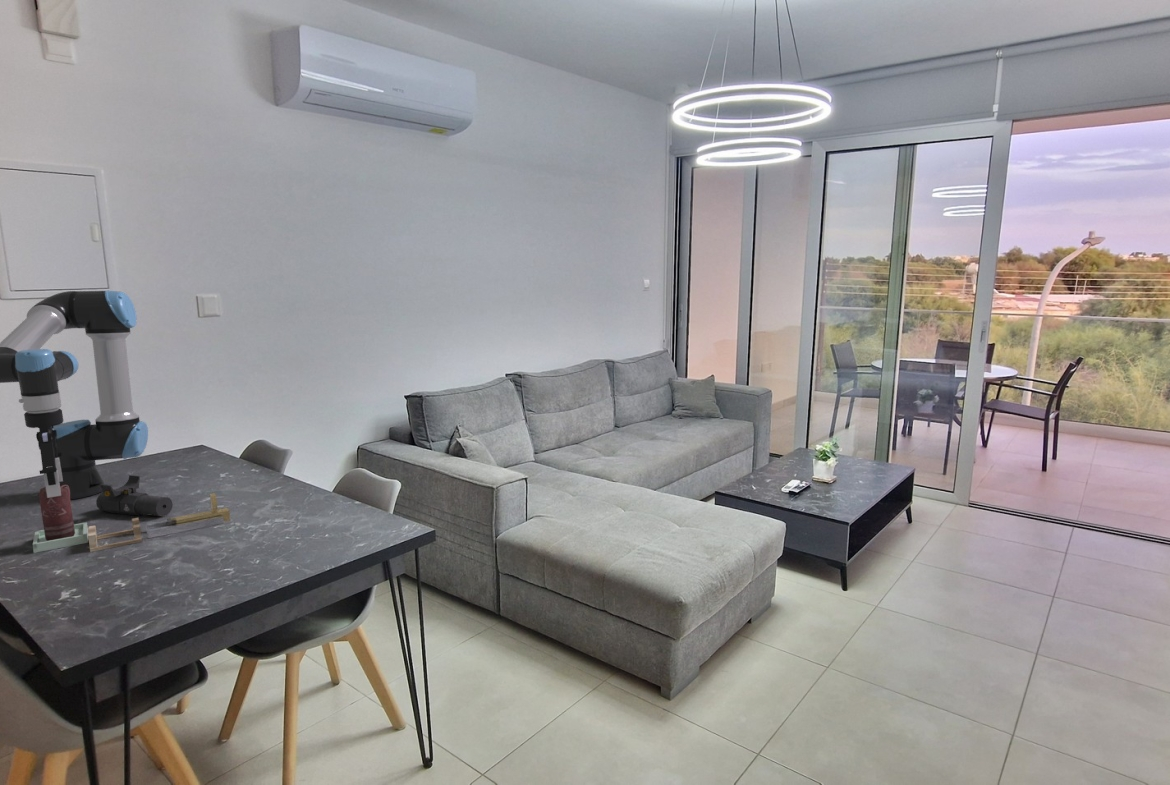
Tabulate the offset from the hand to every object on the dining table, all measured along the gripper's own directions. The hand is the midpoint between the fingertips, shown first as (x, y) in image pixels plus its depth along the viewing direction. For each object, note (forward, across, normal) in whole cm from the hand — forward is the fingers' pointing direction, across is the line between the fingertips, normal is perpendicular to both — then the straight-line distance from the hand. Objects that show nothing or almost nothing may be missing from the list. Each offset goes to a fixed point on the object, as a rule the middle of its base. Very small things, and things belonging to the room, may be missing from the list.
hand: (55, 489), depth 171 cm
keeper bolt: (+14, +9, +31) cm, 35 cm away
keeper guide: (+14, +9, +27) cm, 32 cm away
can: (+13, +1, 0) cm, 13 cm away
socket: (+14, +9, +11) cm, 20 cm away
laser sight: (+15, -13, +16) cm, 26 cm away
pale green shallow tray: (+14, +1, 0) cm, 14 cm away
